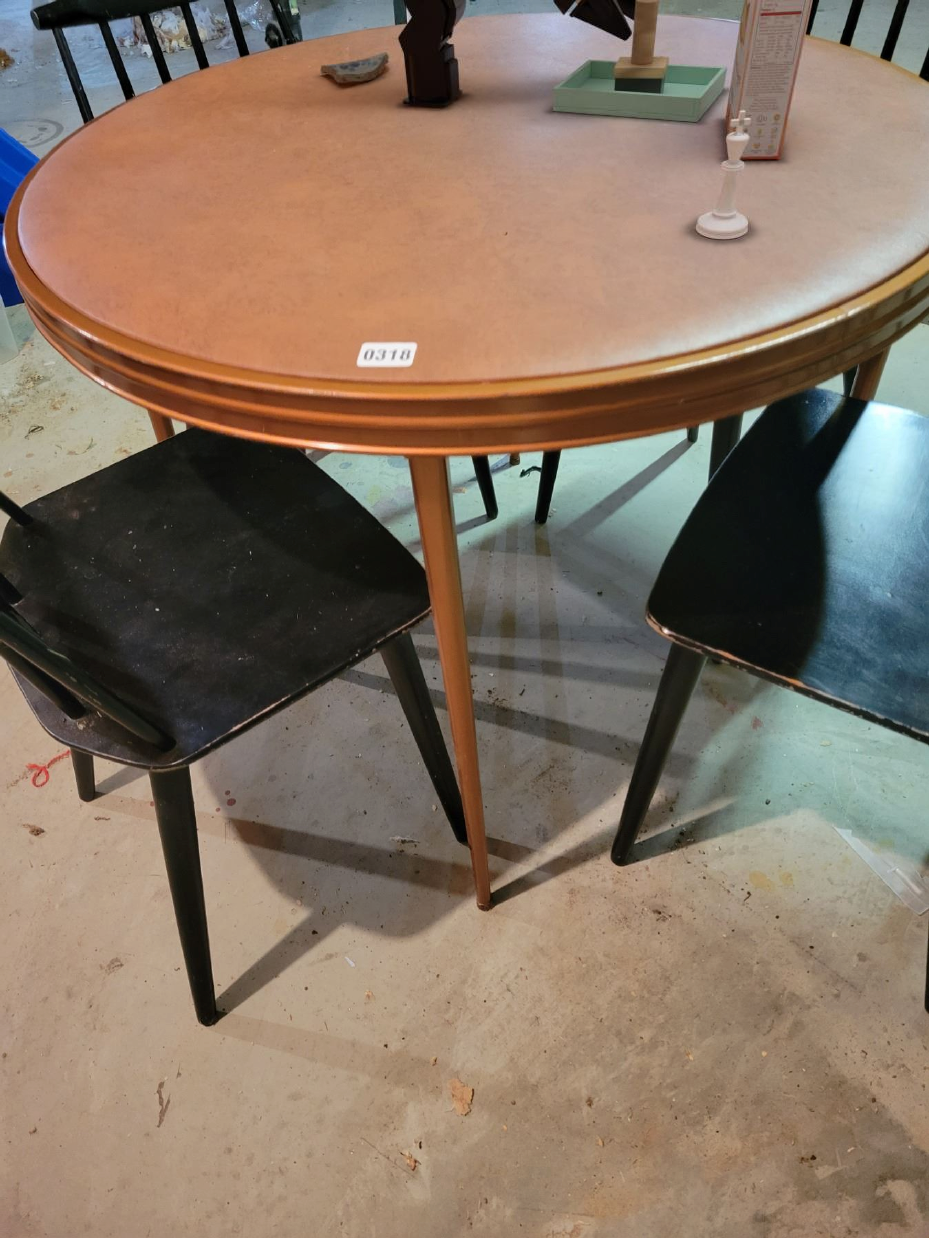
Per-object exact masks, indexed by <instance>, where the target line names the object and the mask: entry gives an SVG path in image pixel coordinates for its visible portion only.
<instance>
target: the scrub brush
mask: <svg viewBox="0 0 929 1238" xmlns="http://www.w3.org/2000/svg"><path fill="white" fill-rule="evenodd" d="M659 3H660V0H636V4H635V17H634V21H633V31H632V41H631V42H632V44H631V54H630V55H631V56H619V58H618V59H617V61H618V62H617V63H616V65H615V67H614V78H615V88H614V91H624V92H639V93H654V94H662V93H663V91H664V84H665V75H666V71H667V68H668V64H670V57H669V56H654V55H655V44H656V34H657V24H658V15H659V14H658V13H659V5H660V4H659Z"/></svg>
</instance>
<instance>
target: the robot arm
mask: <svg viewBox="0 0 929 1238" xmlns="http://www.w3.org/2000/svg"><path fill="white" fill-rule="evenodd" d="M552 1H553V3H554V5H555V6H556V7H557V10H559V12H560V13H561V14H562V15H563V16H565V15H566V14H567V12H568V11H569V10H570V9H571V8H572V6H573V5H574V4H575V3H576V5H575V7H574V8H573V9H572V10H571V11H570V12H569V14H568V16H569V17H570V18H571V19H572V18H575V19H577V20H579V21H582V22H584V23H586V24H588V25H591V26H592V27H594V28H597V29H599V30H601V31H604V32H606V33H608V34H609V35H612V36H614V37H616V38H617V39H619V40H621V41H624V42H626V41H628V40H629V39H630V38H631V36H633V31H632V28H631V27H630V25H629V22H628V21H627V19H630V20H632V21H633V22H634V17H635V4H636V0H552ZM402 3H403V4H404V6H405V8H406V10H407V11H408V14H409V15H410V19H409V20H408V22H407V24H406V25H405V26H404V28H403V29H402V31H401V32H400V34H398V37H397V40H398V43H399V45H400V48H401V51H402V54H403V60H404V70H405V80H406V89H407V97H405V98H403V99H402V105H407V106H420V107H431V108H444V107H445V106H448V104H450V103H451V102H453V101H455V100H456V99H457V98H458V97H460V96H461V95H463V89H461V87H460V72H459V71H460V70H459V60H458V58H456V56H455V54H456V53H455V44H454V43H449V42H448V41H449V40H450V39H452V37H453V33H454V28H455V27H456V26H457V24H458V23H459V22H460V21H461V20H462V18H463V17H464V14H465V11H466V7H467V0H402ZM626 17H627V19H626Z"/></svg>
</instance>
